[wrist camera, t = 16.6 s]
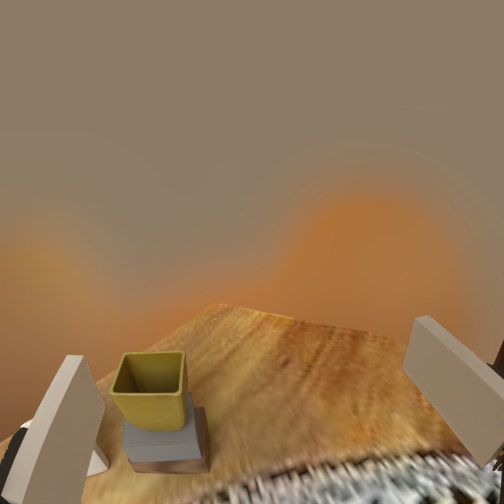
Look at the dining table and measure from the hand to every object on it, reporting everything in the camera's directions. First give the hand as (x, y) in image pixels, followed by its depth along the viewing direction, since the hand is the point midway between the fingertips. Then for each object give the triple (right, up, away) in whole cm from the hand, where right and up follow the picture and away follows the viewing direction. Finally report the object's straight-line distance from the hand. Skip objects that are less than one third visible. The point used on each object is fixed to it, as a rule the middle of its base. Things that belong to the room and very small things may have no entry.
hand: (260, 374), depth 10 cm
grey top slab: (-13, -22, +26) cm, 37 cm away
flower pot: (-12, -19, +25) cm, 34 cm away
